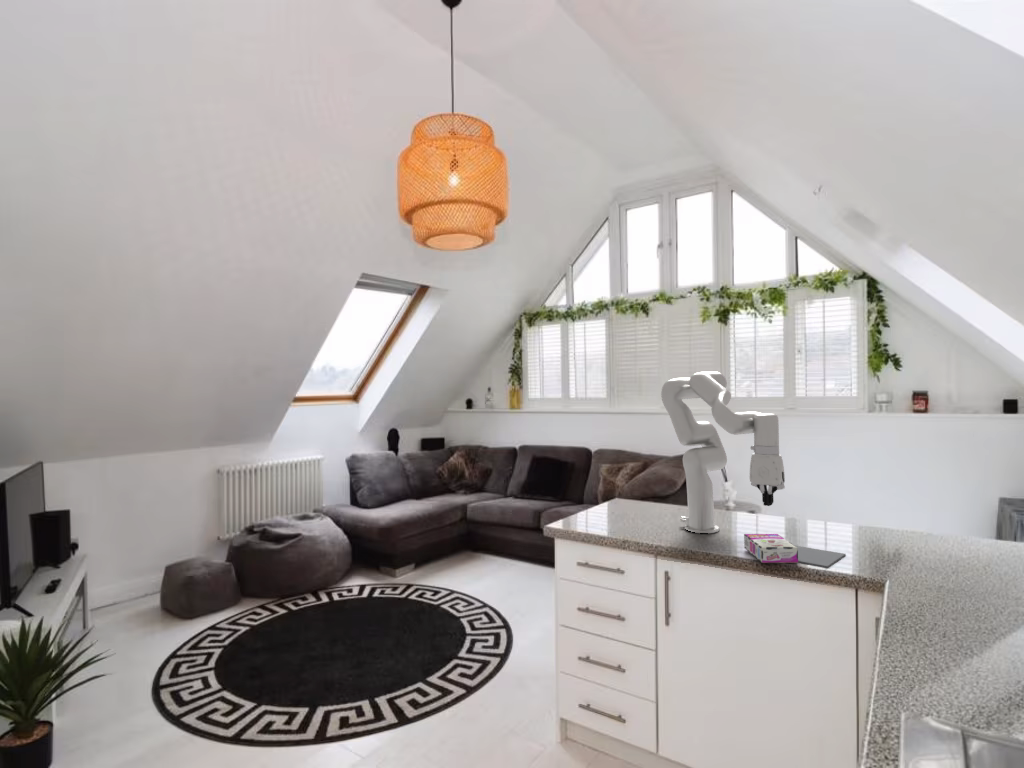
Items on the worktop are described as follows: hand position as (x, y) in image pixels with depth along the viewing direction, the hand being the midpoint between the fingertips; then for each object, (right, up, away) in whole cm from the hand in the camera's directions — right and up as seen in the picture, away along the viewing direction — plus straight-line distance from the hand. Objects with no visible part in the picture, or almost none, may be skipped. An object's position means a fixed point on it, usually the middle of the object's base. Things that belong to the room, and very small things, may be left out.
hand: (768, 504), depth 188 cm
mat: (+7, -15, -8) cm, 18 cm away
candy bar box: (-2, -12, 0) cm, 12 cm away
